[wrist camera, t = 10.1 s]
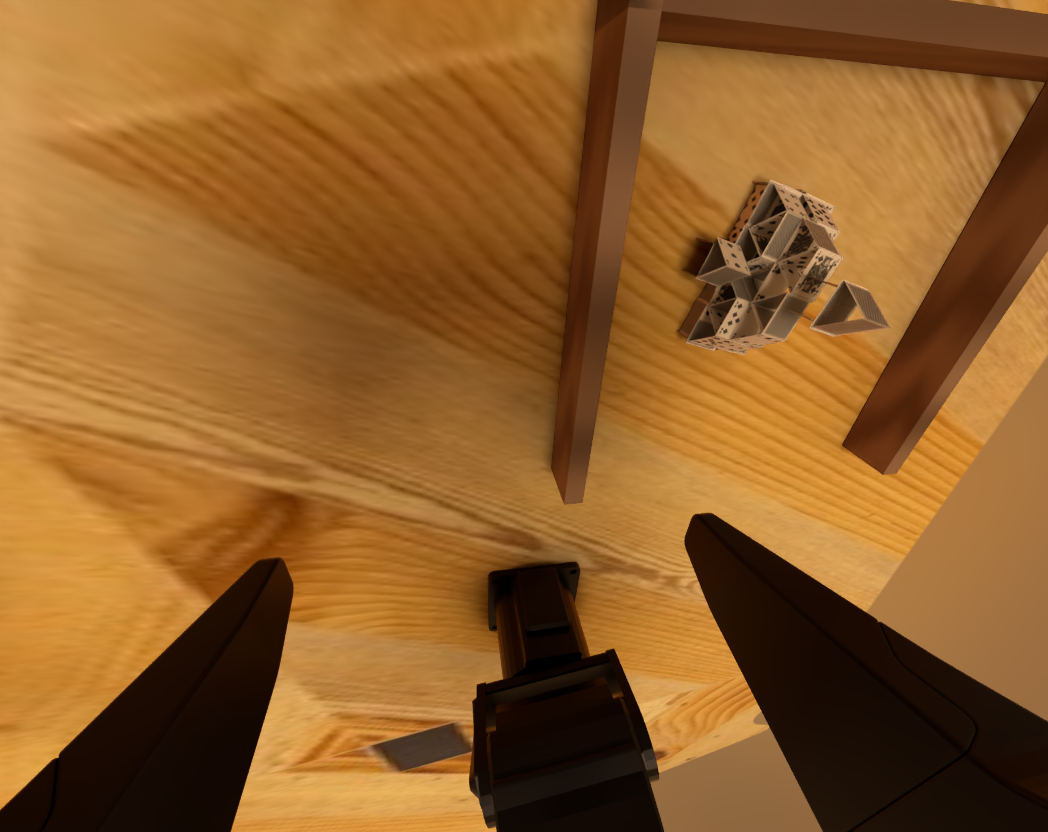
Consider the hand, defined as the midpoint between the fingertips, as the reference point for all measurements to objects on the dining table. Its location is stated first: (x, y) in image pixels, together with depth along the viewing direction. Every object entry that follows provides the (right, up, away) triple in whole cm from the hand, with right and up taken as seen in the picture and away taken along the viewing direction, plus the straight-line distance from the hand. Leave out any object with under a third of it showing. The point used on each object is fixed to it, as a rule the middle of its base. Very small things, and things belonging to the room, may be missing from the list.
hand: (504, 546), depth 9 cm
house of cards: (+9, +11, +10) cm, 17 cm away
